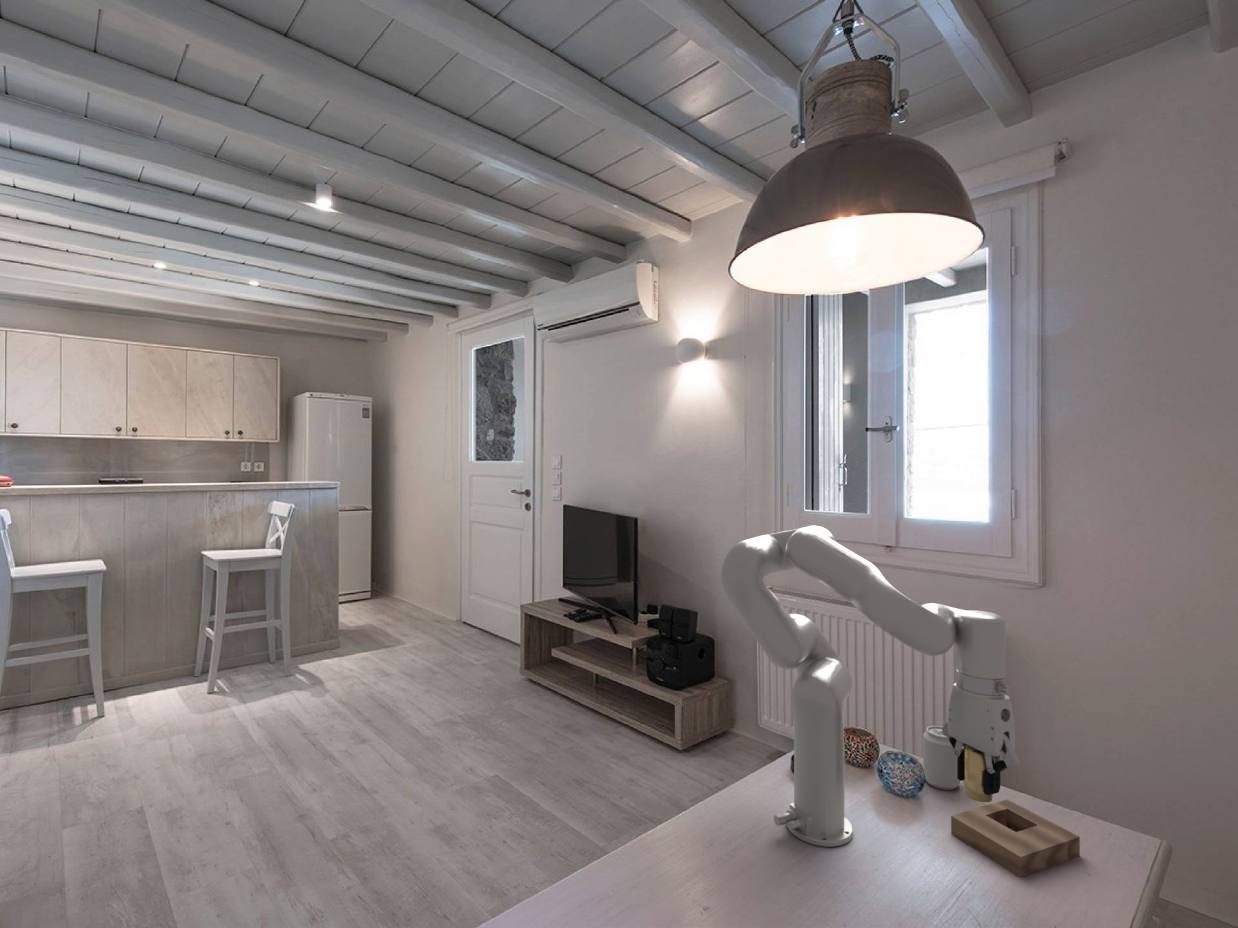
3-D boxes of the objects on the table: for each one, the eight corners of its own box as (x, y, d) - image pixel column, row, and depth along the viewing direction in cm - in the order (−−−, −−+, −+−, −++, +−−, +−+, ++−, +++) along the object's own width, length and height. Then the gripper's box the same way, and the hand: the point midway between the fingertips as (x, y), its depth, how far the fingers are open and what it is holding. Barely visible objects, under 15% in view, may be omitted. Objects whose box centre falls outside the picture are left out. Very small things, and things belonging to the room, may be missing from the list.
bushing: (980, 804, 107) (981, 757, 107) (957, 791, 111) (958, 746, 111) (998, 799, 109) (999, 753, 109) (975, 787, 113) (976, 742, 113)
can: (965, 793, 137) (965, 738, 137) (928, 789, 139) (928, 735, 139) (953, 776, 144) (953, 724, 144) (919, 773, 146) (919, 722, 146)
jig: (1020, 876, 109) (1020, 856, 109) (951, 833, 122) (951, 815, 122) (1079, 855, 115) (1079, 836, 115) (1007, 816, 128) (1007, 799, 128)
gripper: (1042, 696, 103) (1040, 806, 103) (953, 665, 119) (951, 760, 119) (1011, 702, 101) (1009, 815, 101) (924, 669, 116) (922, 767, 116)
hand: (977, 784), depth 110 cm, fingers closed on bushing, 4 cm apart
